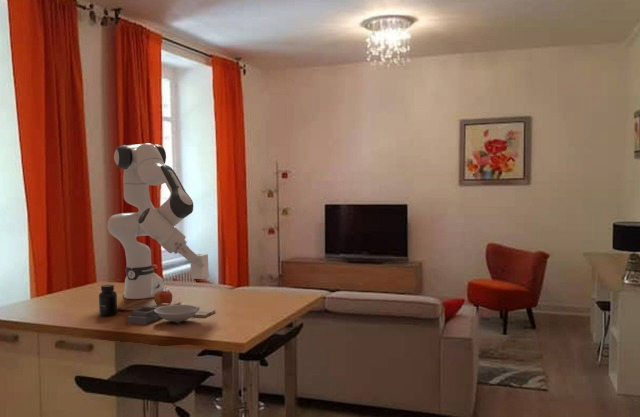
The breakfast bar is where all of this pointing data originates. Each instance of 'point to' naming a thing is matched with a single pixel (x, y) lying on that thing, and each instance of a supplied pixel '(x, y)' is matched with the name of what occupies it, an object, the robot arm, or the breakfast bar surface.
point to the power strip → (145, 314)
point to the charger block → (200, 272)
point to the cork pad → (203, 313)
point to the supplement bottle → (107, 301)
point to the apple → (163, 297)
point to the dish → (176, 312)
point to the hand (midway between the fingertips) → (201, 265)
